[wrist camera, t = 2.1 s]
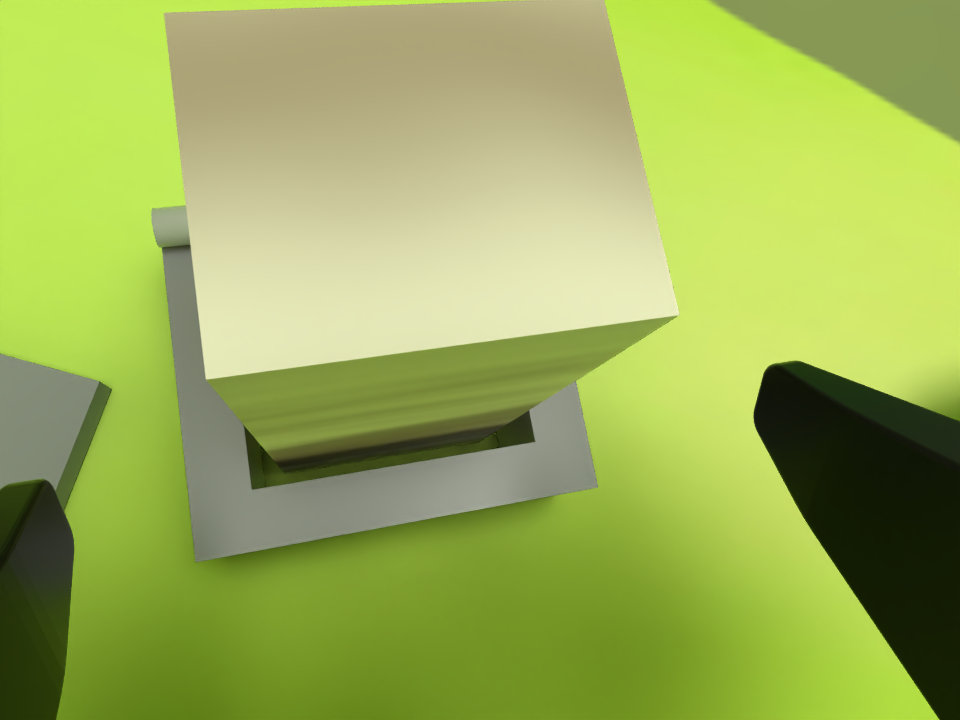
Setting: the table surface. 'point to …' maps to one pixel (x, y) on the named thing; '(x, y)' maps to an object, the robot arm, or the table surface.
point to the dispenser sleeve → (349, 497)
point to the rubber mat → (46, 423)
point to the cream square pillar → (409, 217)
